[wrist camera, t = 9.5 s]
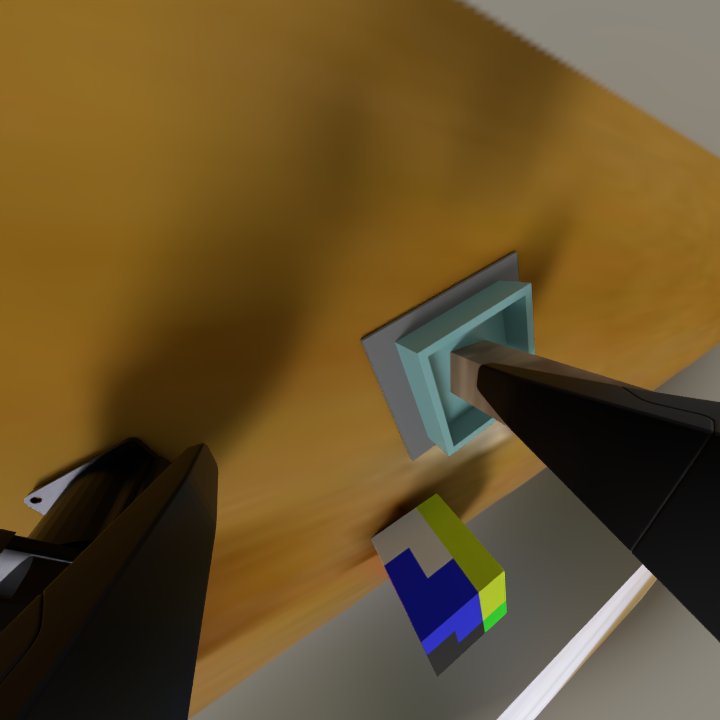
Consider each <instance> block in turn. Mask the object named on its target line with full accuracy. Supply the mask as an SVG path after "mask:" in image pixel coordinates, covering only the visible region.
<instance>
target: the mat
mask: <svg viewBox="0 0 720 720" xmlns="http://www.w3.org/2000/svg"><path fill="white" fill-rule="evenodd" d="M499 280H500V281H515V282H519V274H518V260H517V252H512V253H511V254H509V255H507V256H505V257H504V258H502V259H500V260H498V261H497V262H495V263H493V264H492V265H490V266H488V267H486V268H485V269H483V270H481V271H479V272H478V273H476V274H474V275H472V276H471V277H469V278H467V279H465V280H464V281H462V282H460V283H458V284H457V285H455V286H453V287H451V288H450V289H448V290H446V291H444V292H443V293H441V294H439V295H438V296H436V297H434V298H432V299H431V300H429V301H427V302H425V303H424V304H422V305H420V306H418V307H417V308H415V309H413V310H411V311H410V312H408V313H406V314H404V315H403V316H401V317H399V318H397V319H396V320H394V321H392V322H390V323H389V324H387V325H385V326H383V327H382V328H380V329H378V330H377V331H375V332H373V333H371V334H370V335H368V336H366V337H364V338H363V339H361V342H362V345H363V347H364V349H365V352H366V354H367V357H368V359H369V361H370V364H371V366H372V368H373V371H374V373H375V375H376V378H377V380H378V382H379V385H380V387H381V390H382V392H383V394H384V397H385V399H386V401H387V404H388V406H389V408H390V411H391V413H392V415H393V418H394V420H395V423H396V425H397V427H398V430H399V432H400V434H401V437H402V439H403V441H404V444H405V446H406V448H407V451H408V453H409V456H410V458H411V460H412V461H414V460H415V459H417V458H418V457H419V456H421V455H422V454H423V453H425V452H426V451H427V450H429V449H430V448H432V447H433V446H434V445H436V444H435V443H434V442H433V441H432V440H431V439H429V438H428V435H427V432H426V429H425V427H424V424H423V421H422V418H421V415H420V412H419V410H418V407H417V404H416V401H415V398H414V395H413V392H412V390H411V387H410V384H409V381H408V378H407V375H406V373H405V370H404V367H403V364H402V361H401V358H400V355H399V353H398V350H397V347H396V344H395V342H396V341H398V340H400V339H401V338H403V337H405V336H406V335H408V334H410V333H411V332H413V331H415V330H417V329H418V328H420V327H422V326H423V325H425V324H427V323H428V322H430V321H432V320H433V319H435V318H437V317H438V316H440V315H442V314H443V313H445V312H447V311H448V310H450V309H452V308H453V307H455V306H457V305H458V304H460V303H462V302H463V301H465V300H467V299H468V298H470V297H472V296H473V295H475V294H477V293H479V292H480V291H482V290H484V289H485V288H487V287H489V286H490V285H492V284H494V283H495V282H497V281H499Z"/></svg>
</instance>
